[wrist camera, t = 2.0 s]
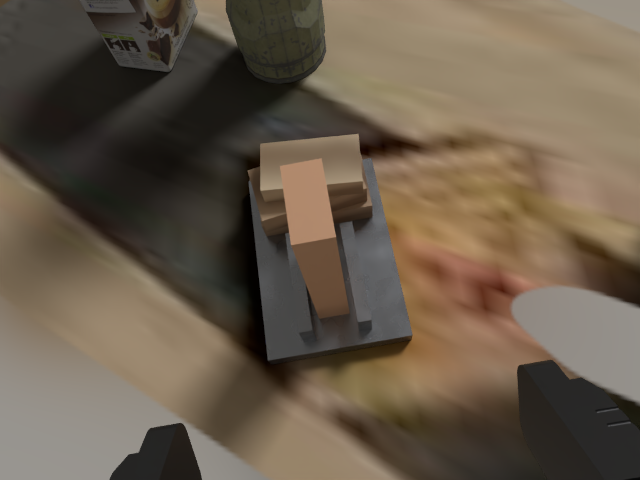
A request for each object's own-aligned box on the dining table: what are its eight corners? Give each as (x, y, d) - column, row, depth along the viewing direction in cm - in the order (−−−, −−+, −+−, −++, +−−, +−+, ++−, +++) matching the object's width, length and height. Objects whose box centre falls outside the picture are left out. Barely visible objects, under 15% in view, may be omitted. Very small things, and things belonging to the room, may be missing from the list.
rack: (411, 340, 40) (414, 326, 36) (271, 364, 40) (260, 353, 37) (371, 167, 47) (370, 141, 43) (252, 189, 47) (241, 165, 43)
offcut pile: (374, 223, 43) (373, 188, 37) (263, 244, 43) (247, 211, 38) (361, 164, 45) (358, 123, 40) (256, 183, 45) (240, 145, 40)
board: (349, 313, 40) (336, 236, 27) (319, 318, 40) (291, 245, 27) (339, 254, 42) (321, 158, 29) (310, 259, 42) (279, 165, 29)
